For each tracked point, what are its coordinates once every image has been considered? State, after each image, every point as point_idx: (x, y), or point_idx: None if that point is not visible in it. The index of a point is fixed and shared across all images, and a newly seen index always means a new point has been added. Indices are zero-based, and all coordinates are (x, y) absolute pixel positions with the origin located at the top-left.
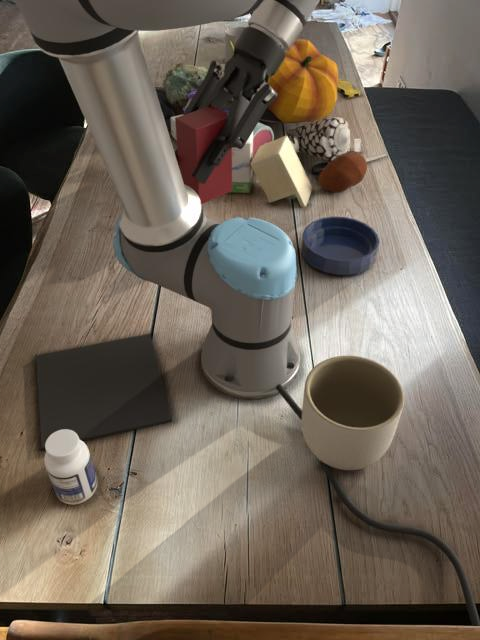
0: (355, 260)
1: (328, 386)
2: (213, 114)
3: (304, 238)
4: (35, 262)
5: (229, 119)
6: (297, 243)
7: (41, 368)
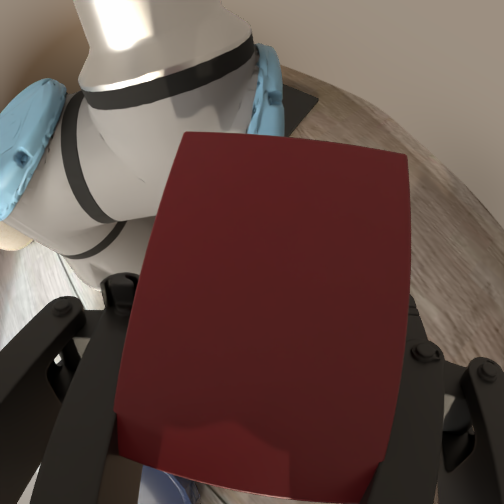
0: None
1: None
2: (232, 396)
3: (173, 478)
4: (468, 190)
5: (88, 395)
6: (212, 490)
7: (297, 93)
